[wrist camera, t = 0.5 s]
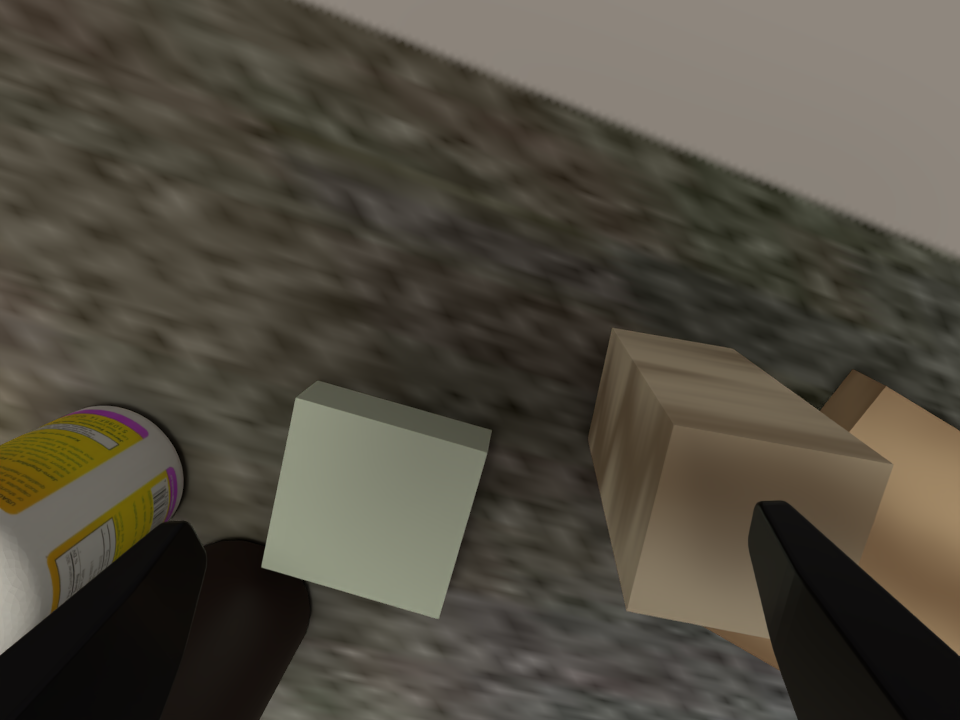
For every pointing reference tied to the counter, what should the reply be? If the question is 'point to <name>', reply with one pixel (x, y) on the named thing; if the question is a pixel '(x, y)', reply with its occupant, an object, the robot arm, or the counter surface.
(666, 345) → the beech post
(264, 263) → the counter surface
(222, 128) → the counter surface
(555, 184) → the counter surface
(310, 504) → the sage block
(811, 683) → the robot arm
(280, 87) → the counter surface
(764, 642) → the oak block
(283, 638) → the vinegar
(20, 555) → the supplement bottle
